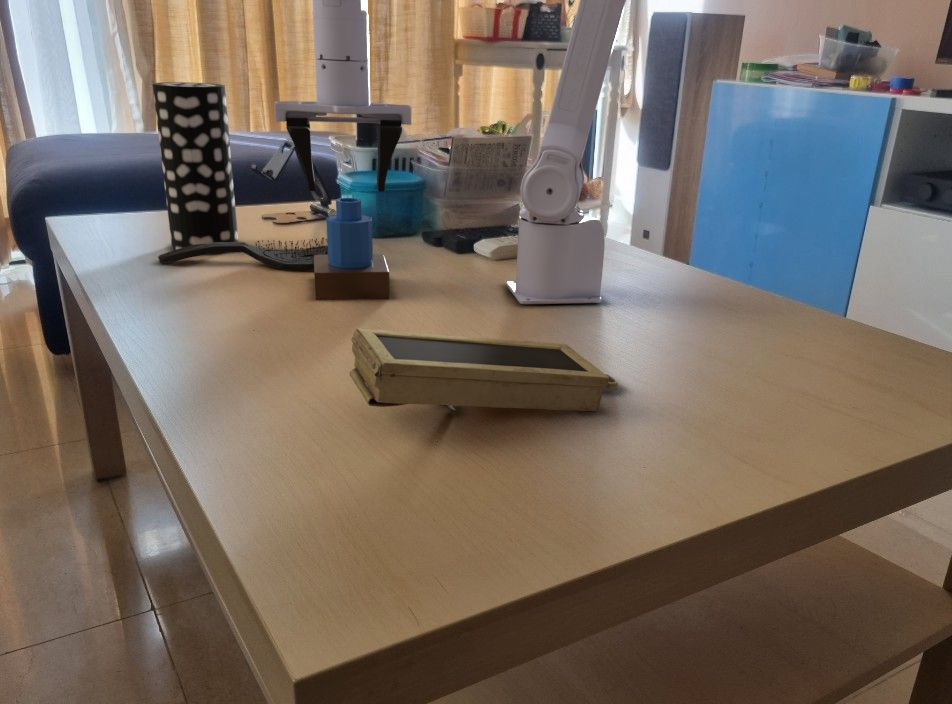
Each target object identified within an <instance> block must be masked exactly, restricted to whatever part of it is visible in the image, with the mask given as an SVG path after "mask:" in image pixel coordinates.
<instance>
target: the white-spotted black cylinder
mask: <svg viewBox="0 0 952 704" xmlns="http://www.w3.org/2000/svg"><path fill="white" fill-rule="evenodd" d="M152 91H153V101H154V108H155V116H156V124H157V132H158V133H157V134H158V142H159V150H160V158H161V167H162V168H161V169H162V175H163V183H164V184H163V185H164V192H165V200H166V208H167V217H168V224H169V225H168V226H169V234H170V242H171V243H170V244H171V248H172V251H173V250H176V249H180V248H183V247H187V246H191V245H195V244H205V243H214V242H239V234H238V233H239V232H238V221H237V211H236V209H237V208H236V200H235V187H234V175H233V164H232V153H231V140H230V131H229V130H230V129H229V118H228V107H227V95H226V86H225V85H224V84H220V83H207V82H187V81H185V82H182V81H181V82H179V81H175V82H174V81H169V82H168V81H167V82H166V81H165V82H154V83H152ZM213 254H214V253H212V255H213Z"/></svg>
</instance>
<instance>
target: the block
mask: <svg viewBox="0 0 952 704" xmlns="http://www.w3.org/2000/svg"><path fill="white" fill-rule="evenodd" d="M313 275H314V277H313V278H314V295H315V300H317V301H318V300H363V299H364V300H365V299H390V297H391V296H390V270H389V267H388V264H387V261H386V258H385V255H384V253H373V263H372V265H370V266H367V267H363V268H352V269H349V268H338V267H334V266H331V265H329V263H328V255H314V270H313Z"/></svg>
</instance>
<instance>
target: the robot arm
mask: <svg viewBox="0 0 952 704" xmlns="http://www.w3.org/2000/svg"><path fill="white" fill-rule="evenodd" d="M626 3H627V0H579V3H578V6H577V11H576V14H575V17H574V21H573V24H572V25H573V26H572V29H571V33H570V37H569V41H568V45H567V49H566V51H565V55H564V60H563V62H562V63H563V64H562V67H561V72H560V75H559V79H558V83H557V87H556V90H555V95H554V98H553V101H552V106H551V109H550V113H549V118H548V121H547V125H546V126H545V127H546V128H545V131H544V134H543V136H542V140H541V143H540V146H539V149H538V154H537V156H536V159H535V160H534V161H533V163H532V164H531V166H530V167H529V168H528V169H527V171H525V173H524V175H523V177H522V179H521V183H520V189H519V191H520V198H521V199H520V200H521V202H522V204H523V206H524V208H522V209H520V210H519V211H518V233H517V250H516V251H517V253H516V272H515V273H516V274H515V280H510V281H509V280H507V281H506V284H505V285H506V287H507V288H508V289H509V291H510V292H511V294H512V295H513V296H514V297H515V299H516V300H517V302H518V303H519V304H521V305H551V304H553V305H555V304H557V305H558V304H559V305H560V304H591V303H592V304H595V303H596V304H599V303H600V304H601V303H602V301H603V298H602V297H601V292H602V291H601V290H602V281H603V270H604V269H603V268H604V258H605V257H604V256H605V246H606V245H605V232H604V227H603V224H602V222H601V220H600V219H598V218H595V217H585V212H584V211H583V210H581V208H580V206H579V205H578V203H579V201H580V197H581V192H582V191H583V188H584V184H585V172H584V167H583V157H584V154H585V151H586V150H585V149H586V146H587V142H588V139H589V135H590V131H591V127H592V124H593V120H594V116H595V113H596V109H597V105H598V103H599V100H600V96H601V93H602V89H603V84H604V81H605V78H606V74H607V70H608V67H609V64H610V60H611V56H612V53H613V49H614V46H615V43H616V39H617V36H618V32H619V28H620V24H621V21H622V17H623V14H624V10H625V8H626ZM312 28H313V31H312V32H313V50H314V70H315V90H316V91H315V93H316V94H315V95H316V101H310V100H309V101H301V100H300V101H293V100H292V101H291V100H289V101H287V100H275V101H274V118H275V119H274V120H275V122H277V123H278V122H281V123H282V122H283V123H285V122H286V123H285V124H286V126H285V127H286V128H285V129H286V131H287V133H288V135H289V137H290V139H291V141H292V143H293V145H294V147H295V149H296V152H297V154H298V157H299V159H300V161H301V164H302V165H301V166H302V168H303V170H304V174H305V178H306V182H307V183H306V184H307V190H308V192H316V181H315V173H314V166H313V165H314V164H313V157H312V141H311V140H312V137H311V122H312V123H313V122H316V123H317V122H318V123H354V124H357V123H358V124H377V126H376V139H377V140H376V145H377V169H376V170H377V171H376V190H377V192H378V193H379V192H380V193H382V192H384V193H385V191H386V181H387V176H388V172H389V167H390V164H391V162H392V157H393V155H394V153H395V150H396V148H397V145H398V143H399V141H400V139H401V136H402V133H403V126H402V125H404V126H405V125H407V126H411V125H412V106H411V105H410V104H393V103H374V102H371V81H370V80H371V78H370V76H371V75H370V73H371V72H370V70H371V69H370V34H369V33H370V31H369V13H368V0H312ZM328 114H331V115H332V114H333V115H334V114H335V115H360V116H361V117H357V116H356V117H353V116H352V117H351V116H349V117H348V116H347V117H346V116H328Z"/></svg>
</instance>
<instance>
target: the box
mask: <svg viewBox="0 0 952 704" xmlns="http://www.w3.org/2000/svg"><path fill="white" fill-rule="evenodd" d="M350 340H351V343H352V345H351V352H352V353H353V355H354V365H353V366H354V368H352V369H351V370H350V371H349V376H350V378H351V380H352V381H353V383H354V384H355V386H356V388H358V390H359V392H360V393H361V395H362V397H363V398H364V400H365V402H366V403H367V405H368V406H369V407H377V408H387V407H390V408H391V407H399V406H405V405H423V406H424V405H425V406H440V407H443V408H446V409H448V410H451V411H453V412H455V411H456V409H455V407H478V408H500V409H501V408H503V409H529V410H530V409H531V410H532V409H533V410H554V411H555V410H556V411H579V412H580V411H583V412H598V411H599V409H600V405H601V402H602V399H603V395H604V391H605V389H609V390H614V391H616V390H617V388H618V384H619V382H618V381H617V380H616V378H614V377H612V376H611V375H609V374H607V373H605V372H604V371H602V370H601V369H599V368H598V367H597V366H596V365H594V364H593V363H592V362H590V361H589V360H587V359H586V358H584V356H582V355H581V354H580V353H578V352H577V351H576V350H574V349H573V348H572V347H570V346H569V344H566V343H555V342H543V341H542V342H541V341H527V340H516V339H515V340H514V339H510V340H509V339H498V338H489V337H488V338H487V337H474V336H463V335H449V334H439V333H425V332H410V331H396V330H384V329H369V328H359V327H357V328H356V329H355V330H353V335H352V337H351V338H350Z"/></svg>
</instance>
